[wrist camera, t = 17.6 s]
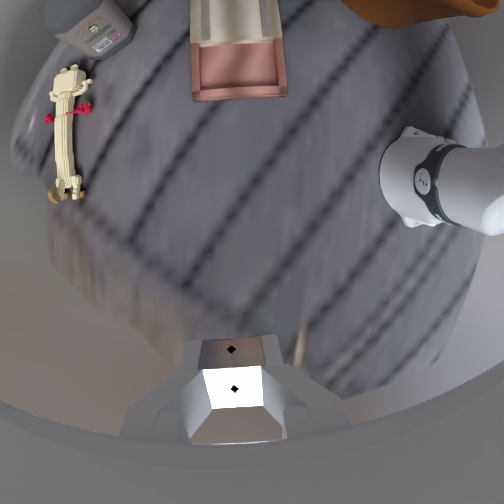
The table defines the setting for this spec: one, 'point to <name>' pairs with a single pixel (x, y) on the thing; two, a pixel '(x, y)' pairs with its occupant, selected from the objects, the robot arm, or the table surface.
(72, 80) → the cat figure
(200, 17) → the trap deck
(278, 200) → the table surface
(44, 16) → the liquor
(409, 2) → the flowerpot
